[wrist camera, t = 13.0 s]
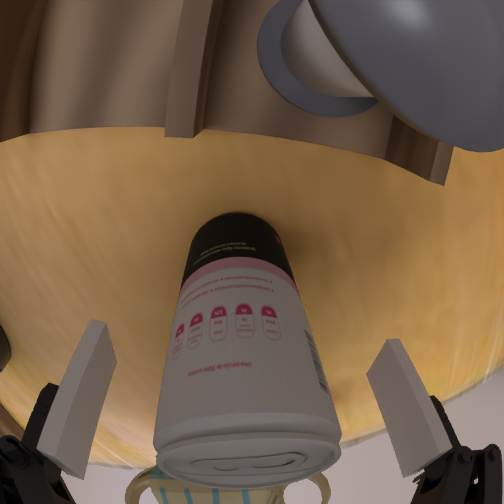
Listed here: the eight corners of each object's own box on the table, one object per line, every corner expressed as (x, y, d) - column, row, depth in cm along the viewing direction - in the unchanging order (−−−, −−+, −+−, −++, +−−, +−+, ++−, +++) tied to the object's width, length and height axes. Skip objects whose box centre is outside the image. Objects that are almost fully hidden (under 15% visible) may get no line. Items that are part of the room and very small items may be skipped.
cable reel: (247, 103, 15) (282, 93, 5) (266, -17, 11) (316, -139, 1) (377, 130, 16) (525, 184, 6) (392, 19, 12) (529, -13, 2)
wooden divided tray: (23, 133, 14) (-30, 151, 9) (52, -29, 8) (10, -50, 3) (392, 160, 18) (443, 185, 13) (413, -5, 11) (463, -22, 6)
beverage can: (283, 285, 22) (332, 477, 9) (199, 295, 22) (183, 490, 9) (279, 205, 19) (366, 415, 6) (182, 217, 19) (115, 434, 6)
